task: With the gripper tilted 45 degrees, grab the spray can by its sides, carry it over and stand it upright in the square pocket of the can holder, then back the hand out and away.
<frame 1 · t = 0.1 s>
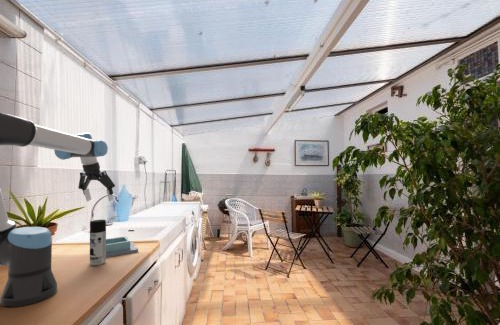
hand: (100, 200, 143), 28 cm above the worktop, tool tilted 20°, fingers open, 13 cm apart
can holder: (114, 250, 143), on the worktop
spray can: (98, 263, 124), on the worktop
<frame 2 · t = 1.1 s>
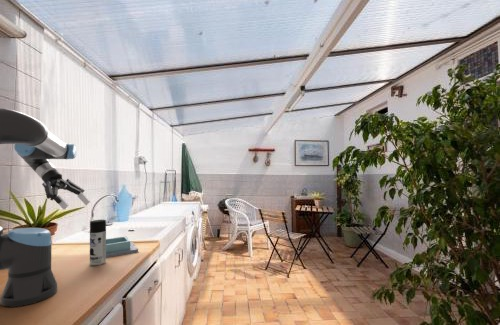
hand: (77, 205, 126), 27 cm above the worktop, tool tilted 45°, fingers open, 13 cm apart
nothing on the worktop moved.
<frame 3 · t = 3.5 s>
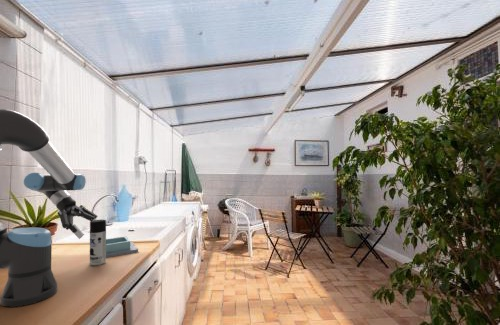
hand: (92, 233, 127), 14 cm above the worktop, tool tilted 45°, fingers open, 13 cm apart
nothing on the worktop moved.
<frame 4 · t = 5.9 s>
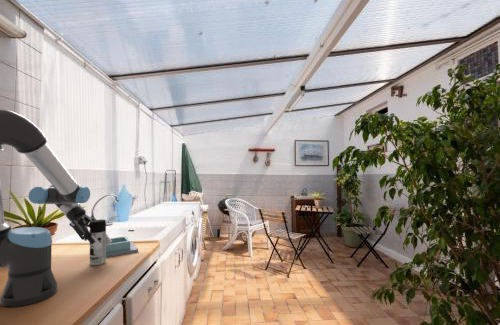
hand: (105, 245, 124), 8 cm above the worktop, tool tilted 45°, fingers closed on spray can, 7 cm apart
spray can: (98, 263, 124), on the worktop, touching gripper
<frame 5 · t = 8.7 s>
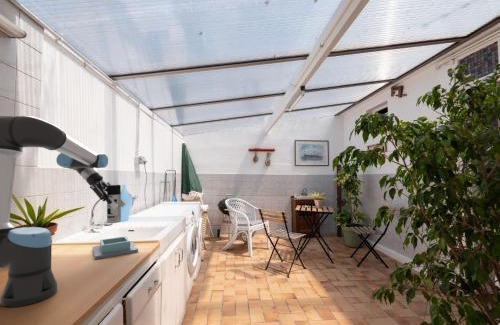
hand: (120, 206, 143), 24 cm above the worktop, tool tilted 45°, fingers closed on spray can, 7 cm apart
spray can: (114, 222, 143), point 16 cm above the worktop, touching gripper
when the fingers open (11 cm above the worktop, at t = 11.5 s): spray can drops 1 cm, resting on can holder.
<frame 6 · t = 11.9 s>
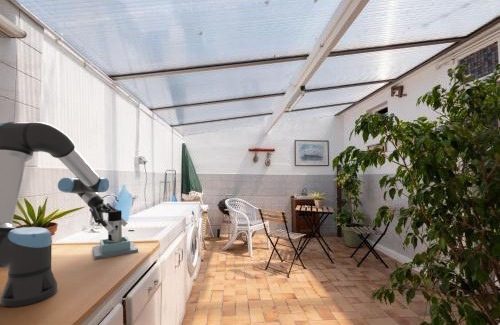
hand: (119, 227, 143), 13 cm above the worktop, tool tilted 45°, fingers open, 12 cm apart
spray can: (115, 248, 144), point 1 cm above the worktop, touching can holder
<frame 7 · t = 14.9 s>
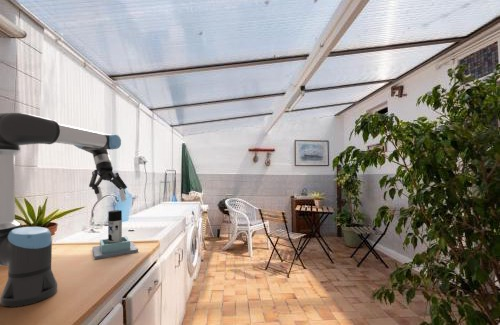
hand: (112, 200, 133), 29 cm above the worktop, tool tilted 30°, fingers open, 13 cm apart
nothing on the worktop moved.
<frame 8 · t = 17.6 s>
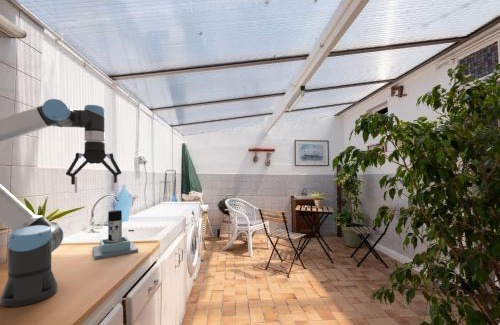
hand: (94, 191, 112), 35 cm above the worktop, tool pointing down, fingers open, 13 cm apart
nothing on the worktop moved.
at the end: spray can 0.4 cm off-centre on the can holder, point 1.3 cm above the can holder's base; spray can tilted 0°; the gripper is holding nothing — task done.
